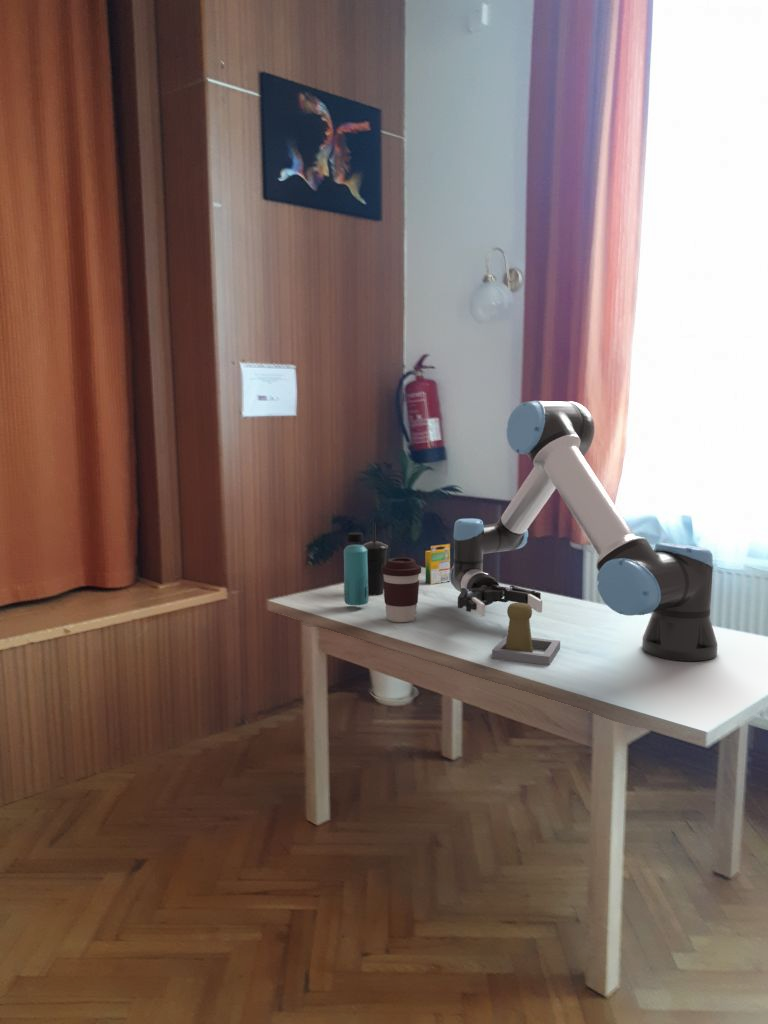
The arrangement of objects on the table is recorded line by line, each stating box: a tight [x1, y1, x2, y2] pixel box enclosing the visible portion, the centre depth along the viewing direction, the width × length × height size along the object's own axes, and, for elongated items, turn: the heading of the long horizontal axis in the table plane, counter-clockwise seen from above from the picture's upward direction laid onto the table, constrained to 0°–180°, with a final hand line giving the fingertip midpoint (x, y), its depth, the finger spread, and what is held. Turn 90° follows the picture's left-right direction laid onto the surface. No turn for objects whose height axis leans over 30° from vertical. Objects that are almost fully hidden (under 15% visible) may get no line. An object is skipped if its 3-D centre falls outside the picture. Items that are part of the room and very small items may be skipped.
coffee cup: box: [381, 557, 422, 623], centre depth 198 cm, size 10×10×15 cm
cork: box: [505, 602, 534, 653], centre depth 170 cm, size 6×6×11 cm
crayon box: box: [424, 543, 451, 585], centre depth 239 cm, size 7×3×12 cm, turn 122°
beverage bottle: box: [343, 532, 370, 606], centre depth 209 cm, size 6×7×20 cm
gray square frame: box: [491, 634, 561, 666], centre depth 171 cm, size 12×12×2 cm
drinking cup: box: [362, 522, 389, 596], centre depth 225 cm, size 8×8×20 cm
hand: (512, 608), depth 178 cm, fingers open, 13 cm apart
